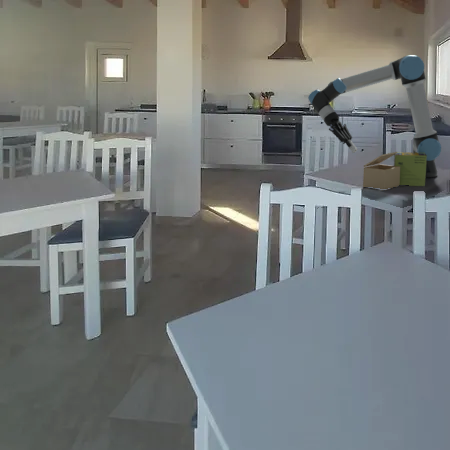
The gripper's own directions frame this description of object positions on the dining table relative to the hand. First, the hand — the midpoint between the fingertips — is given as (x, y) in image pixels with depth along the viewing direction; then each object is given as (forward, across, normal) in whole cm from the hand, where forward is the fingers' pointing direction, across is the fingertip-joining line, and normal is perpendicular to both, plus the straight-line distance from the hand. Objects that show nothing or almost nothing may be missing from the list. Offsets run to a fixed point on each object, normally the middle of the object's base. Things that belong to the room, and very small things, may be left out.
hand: (355, 151), depth 327 cm
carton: (+23, -1, -1) cm, 23 cm away
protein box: (+27, -17, +4) cm, 32 cm away
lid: (+12, -1, +8) cm, 15 cm away
